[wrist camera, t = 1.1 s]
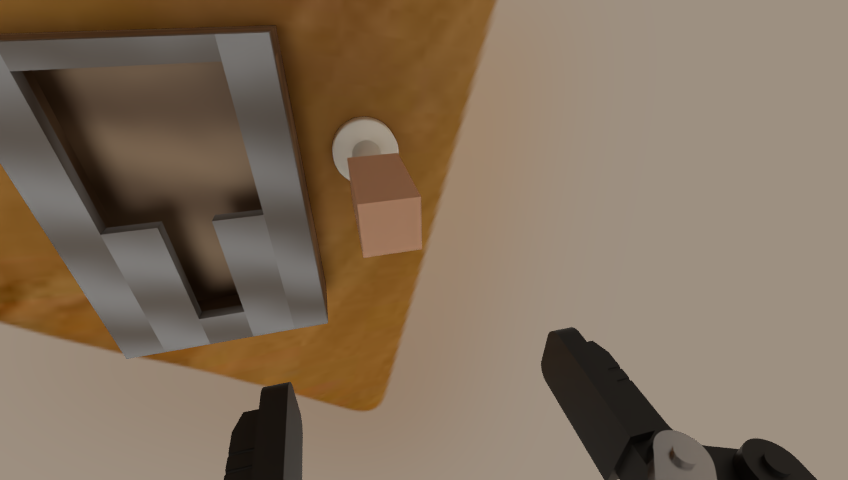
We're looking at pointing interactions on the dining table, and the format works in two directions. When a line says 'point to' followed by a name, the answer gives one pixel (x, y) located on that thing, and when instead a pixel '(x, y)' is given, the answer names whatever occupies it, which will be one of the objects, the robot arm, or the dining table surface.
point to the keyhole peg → (378, 187)
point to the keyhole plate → (166, 179)
